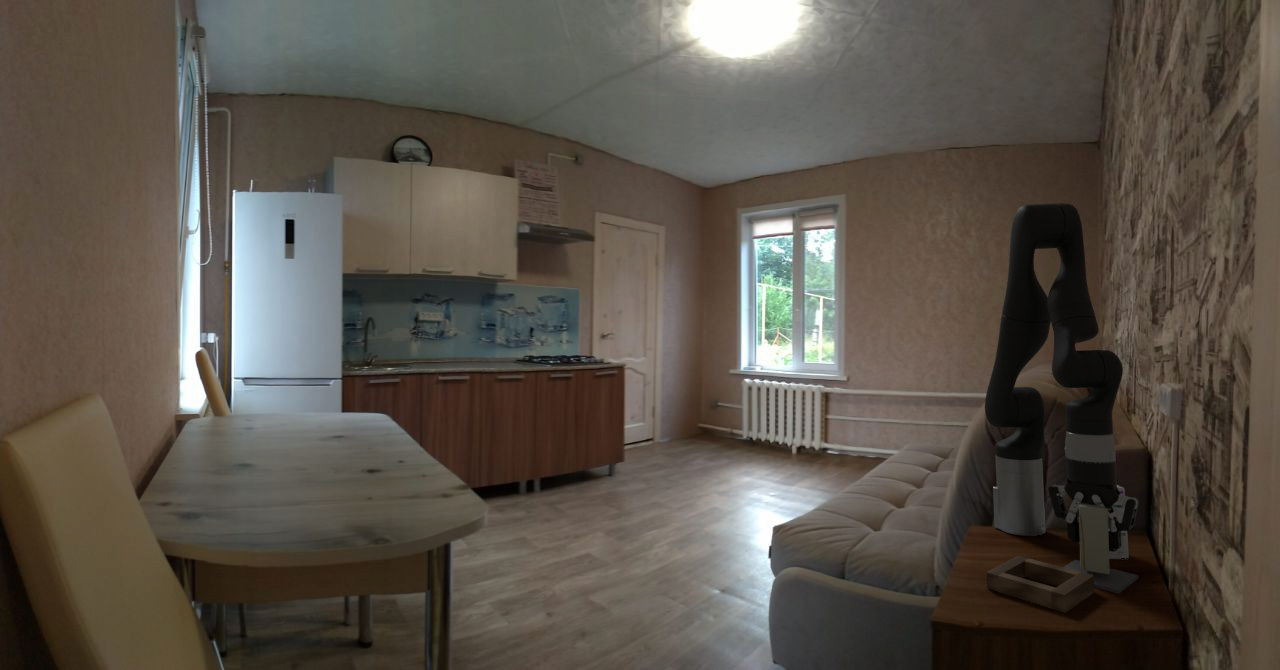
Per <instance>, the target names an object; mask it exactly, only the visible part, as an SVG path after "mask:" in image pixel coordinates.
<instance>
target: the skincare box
mask: <svg viewBox="0 0 1280 670" xmlns="http://www.w3.org/2000/svg"><path fill="white" fill-rule="evenodd" d="M1078 522H1079V536H1080V541H1079V561H1080V565H1081V570H1086V571H1091V572H1098V573H1104V574H1109V568H1110V559H1109V533H1108V507H1107V508H1102V507H1097V506H1096V505H1091V504H1086V503H1081V504H1079V517H1078Z"/></svg>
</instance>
